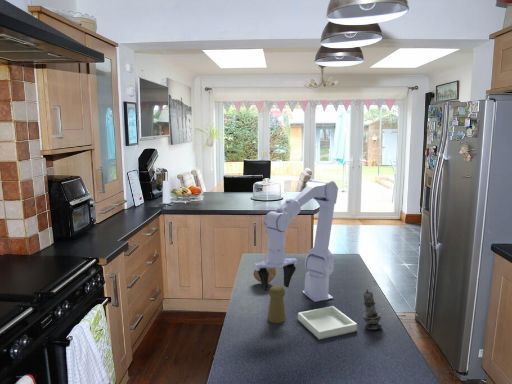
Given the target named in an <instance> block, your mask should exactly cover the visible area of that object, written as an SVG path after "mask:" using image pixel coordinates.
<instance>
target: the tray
mask: <svg viewBox="0 0 512 384" xmlns="http://www.w3.org/2000/svg"><path fill="white" fill-rule="evenodd" d="M297 320H298V322H300V324H302V325H303V326H304V327H305V328H306V329H307V330H308V331H309V332H310V333H311V334H312V335H314V337H316V338H317V340H323V339H328V338H332V337H337V336H341V335H346V334H350V333H355V332H357V331H358V323H357V322H355V321H354V320H352V319H351V318H350V317H349V316H347V315H346V314H345V313H343V312H342V311H341V310H339V309H338V308H337V307H335V306H334V305H330V306H325V307H320V308H315V309H310V310H305V311H301V312H297Z"/></svg>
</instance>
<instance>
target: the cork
mask: <svg viewBox="0 0 512 384" xmlns="http://www.w3.org/2000/svg"><path fill="white" fill-rule="evenodd" d="M285 293H286V292H285V289H284V287H282V286H279V285H274V286H271V287H270V288H269V291H268V295H269V296H270V298H269V299H270V300H269V305H268V306H269V307H268V314H267V321H269V322H270V323H273V324H281V323H282V324H283V322H286V321H287V320H286V310H285V302H284V297H285Z"/></svg>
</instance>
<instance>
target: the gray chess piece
mask: <svg viewBox="0 0 512 384" xmlns="http://www.w3.org/2000/svg"><path fill="white" fill-rule="evenodd" d="M365 290H366V291H365V292H364V293H363V301H364V302H363V305H364V306H365V312H364V313H363V314H361V317H362V318H363V320H364V322H365V323H366V324H365V325H364V328H365V329H367V330H378V329H381V328H382V326H383V324H382V323H381V322H380V321H381V317H382V313H381V312H380V311H379V312H378V311H377V309H376V301H374V295H373V292H372V291H369V289H368V288H367V289H365Z"/></svg>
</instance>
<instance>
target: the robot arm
mask: <svg viewBox="0 0 512 384" xmlns="http://www.w3.org/2000/svg"><path fill="white" fill-rule="evenodd" d="M304 186H305V187H304V188H303V189H302V190H301V191H300V192H299V193H298V194H297V195H296V196H295V197H294V198H287V199H286V200H285V201H284V203H282V204H281V205H280V206H279V207H277V208H276V209H275V210H271V211H269V212H268V213H267V214H266V215H265V216H264V220H263V221H262V222H263V225H264V227H265V232H266V234H267V241H266V242H267V244H266V246H267V252H266V253H267V255H266V258H267V259H264V260H265V261H262V260H261V261H262V262H261V261H259V262H255V263H254V264H253V265H254V267H253V268H254V270H256V271H257V272H258V274H259V276H260V279H261V282H262V283H261V282H260V283H261V285H262V289H263V291H265V292H267V291H268V288H269V287H268V286H269V285H268V284H269V283H268V275H269V273H268V272H267V270H266V269H268V268H282V269H283V286H284V287H285V288H289V286H290V283H291V280H292V277H293V275H294V273H295V272H296V271H297V270H296V269H297V268H296V266H298V259H296V257H289V258H288V257H286V230H288V229H289V226H290V224H291V223H292V220H293V219H294V218H295V217H296V216H297V215H298V214H300V212H301V210H302V208H301V207H303V206H304V205H306V203H308V202H309V201H311V200H312V199H314V201H316V202H317V203H318V205H319V208H318V214H317V215H318V216H317V223H316V230H315V237H314V243H313V244H314V245H313V247H312V248H311V249H308V250H307V255H306V257H305V260H304V268H305V269H306V270H307V272H305V275H304V290H302V294H305V296H307V298H309V299H310V300H312V301H313V302H314V303H315V302H320V301H327V300H331V299H334V296H332V295H331V294H329V288H330V287H329V285H330V284H329V283H330V281H329V280H330V276H331V275H332V274H333V272H334V270H335V262H334V261H335V255H334V254H333V253H332V252H331V250H330V248H329V247H330V240H331V238H330V237H331V231H332V226H333V225H332V223H333V217H334V212H335V205H336V204H337V199H338V192H339V187H338V185H337V184H336V181H334V180H322V179H315V178H310V179H308V181H307V182H306V183H305V185H304Z"/></svg>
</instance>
